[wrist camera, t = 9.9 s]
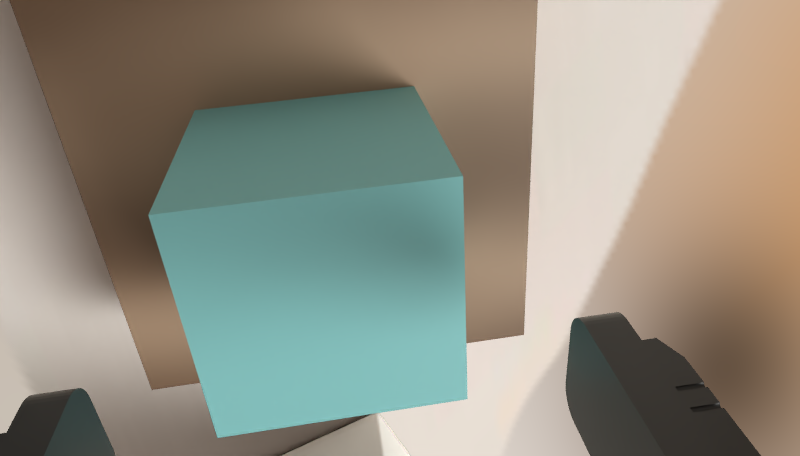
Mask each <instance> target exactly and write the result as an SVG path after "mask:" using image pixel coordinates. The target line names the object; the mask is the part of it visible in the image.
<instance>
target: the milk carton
mask: <svg viewBox="0 0 800 456" xmlns="http://www.w3.org/2000/svg"><path fill="white" fill-rule="evenodd" d="M281 456H410V455H409V453H408V452H407V450H406V449H405V448H404V446H403V445H402V444H401V442H400V441H399V439H398V438H397V437H396V435H395V434H394V433H393V431H392V430H391V428H390V427H389V426H388V424H387V423H386V422H385V420H384V419H383V418H382V416H381V415H380V414H379V413H375V414H371V415H369V416H367V417H365V418H362V419H360V420H358V421H356V422H354V423H351V424H349V425H347V426H345V427H343V428H340V429H338V430H336V431H334V432H332V433H329V434H327V435H325V436H323V437H321V438H318V439H316V440H314V441H312V442H310V443H307V444H305V445H303V446H301V447H299V448H296V449H294V450H292V451H290V452H288V453H286V454H283V455H281Z"/></svg>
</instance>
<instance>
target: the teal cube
mask: <svg viewBox="0 0 800 456" xmlns="http://www.w3.org/2000/svg"><path fill="white" fill-rule="evenodd" d="M148 216H149V219H150V222H151V225H152V229H153V232H154V235H155V238H156V241H157V245H158V248H159V251H160V254H161V258H162V261H163V264H164V267H165V270H166V274H167V277H168V280H169V283H170V287H171V290H172V293H173V296H174V299H175V303H176V306H177V309H178V312H179V316H180V319H181V322H182V325H183V328H184V332H185V335H186V338H187V341H188V345H189V348H190V351H191V354H192V357H193V361H194V364H195V367H196V370H197V374H198V377H199V380H200V383H201V386H202V390H203V393H204V396H205V399H206V403H207V406H208V409H209V412H210V415H211V419H212V422H213V425H214V428H215V432H216V435H217V438H221V437H227V436H234V435H240V434H247V433H253V432H259V431H266V430H272V429H279V428H285V427H291V426H298V425H304V424H311V423H317V422H323V421H330V420H336V419H343V418H349V417H355V416H362V415H368V414H375V413H381V412H387V411H394V410H400V409H407V408H413V407H419V406H426V405H432V404H439V403H445V402H451V401H458V400H464V399H467V356H466V302H465V249H464V195H463V175H462V173H461V171H460V169H459V168H458V166H457V164H456V162H455V160H454V158H453V157H452V155H451V153H450V151H449V149H448V147H447V146H446V144H445V142H444V140H443V138H442V136H441V135H440V133H439V131H438V129H437V127H436V125H435V124H434V122H433V120H432V118H431V116H430V114H429V113H428V111H427V109H426V107H425V105H424V104H423V102H422V100H421V98H420V96H419V94H418V93H417V91H416V89H415V87H414V86H411V87H402V88H393V89H384V90H374V91H365V92H356V93H347V94H338V95H329V96H320V97H311V98H302V99H293V100H284V101H275V102H266V103H257V104H247V105H238V106H229V107H220V108H211V109H202V110H195V111H194V113H193V115H192V118H191V120H190V122H189V124H188V127H187V129H186V131H185V133H184V136H183V138H182V140H181V142H180V145H179V147H178V149H177V151H176V154H175V156H174V158H173V160H172V163H171V165H170V167H169V170H168V172H167V174H166V176H165V179H164V181H163V183H162V185H161V188H160V190H159V192H158V194H157V197H156V199H155V201H154V203H153V206H152V208H151V210H150V212H149V215H148Z"/></svg>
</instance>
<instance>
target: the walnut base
mask: <svg viewBox="0 0 800 456" xmlns="http://www.w3.org/2000/svg"><path fill="white" fill-rule="evenodd" d="M10 3H11V6H12V8H13V11H14V14H15V17H16V19H17V22H18V25H19V28H20V30H21V33H22V36H23V39H24V41H25V44H26V47H27V49H28V52H29V55H30V58H31V60H32V63H33V66H34V69H35V71H36V74H37V77H38V80H39V82H40V85H41V88H42V90H43V93H44V96H45V99H46V101H47V104H48V107H49V110H50V112H51V115H52V118H53V121H54V123H55V126H56V129H57V132H58V134H59V137H60V140H61V142H62V145H63V148H64V151H65V153H66V156H67V159H68V162H69V164H70V167H71V170H72V173H73V175H74V178H75V181H76V184H77V186H78V189H79V192H80V194H81V197H82V200H83V203H84V205H85V208H86V211H87V214H88V216H89V219H90V222H91V225H92V227H93V230H94V233H95V235H96V238H97V241H98V244H99V246H100V249H101V252H102V255H103V257H104V260H105V263H106V266H107V268H108V271H109V274H110V277H111V279H112V282H113V285H114V287H115V290H116V293H117V296H118V298H119V301H120V304H121V307H122V309H123V312H124V315H125V318H126V320H127V323H128V326H129V328H130V331H131V334H132V337H133V339H134V342H135V345H136V348H137V350H138V353H139V356H140V359H141V361H142V364H143V367H144V370H145V372H146V375H147V378H148V380H149V383H150V386H151V389H152V390H153V389H160V388H167V387H174V386H180V385H187V384H194V383H200V380H199V377H198V374H197V370H196V367H195V364H194V361H193V357H192V354H191V351H190V348H189V345H188V341H187V338H186V335H185V332H184V328H183V325H182V322H181V319H180V316H179V312H178V309H177V306H176V303H175V299H174V296H173V293H172V290H171V287H170V283H169V280H168V277H167V274H166V270H165V267H164V264H163V261H162V258H161V254H160V251H159V248H158V245H157V241H156V238H155V235H154V232H153V229H152V225H151V222H150V219H149V216H148V215H149V212H150V210H151V208H152V206H153V203H154V201H155V199H156V197H157V194H158V192H159V190H160V188H161V185H162V183H163V181H164V179H165V176H166V174H167V172H168V170H169V167H170V165H171V163H172V160H173V158H174V156H175V154H176V151H177V149H178V147H179V145H180V142H181V140H182V138H183V136H184V133H185V131H186V129H187V127H188V124H189V122H190V120H191V118H192V115H193V113H194V111H195V110H202V109H211V108H220V107H229V106H238V105H247V104H257V103H266V102H275V101H284V100H293V99H302V98H311V97H320V96H329V95H338V94H347V93H356V92H365V91H374V90H384V89H393V88H402V87H411V86H414V87H415V89H416V91H417V93H418V94H419V96H420V98H421V100H422V102H423V104H424V105H425V107H426V109H427V111H428V113H429V114H430V116H431V118H432V120H433V122H434V124H435V125H436V127H437V129H438V131H439V133H440V135H441V136H442V138H443V140H444V142H445V144H446V146H447V147H448V149H449V151H450V153H451V155H452V157H453V158H454V160H455V162H456V164H457V166H458V168H459V169H460V171H461V173H462V175H463V195H464V249H465V302H466V343H471V342H478V341H485V340H491V339H498V338H505V337H512V336H518V335H524V316H525V292H526V268H527V244H528V220H529V196H530V172H531V148H532V124H533V99H534V75H535V51H536V27H537V3H538V0H10Z"/></svg>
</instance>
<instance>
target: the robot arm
mask: <svg viewBox="0 0 800 456" xmlns="http://www.w3.org/2000/svg"><path fill="white" fill-rule="evenodd" d="M566 395H567V401H568V406H569V410H570V413H571V416H572V418H573V421H574V423H575V425H576V427H577V429H578V431H579V433H580V435H581V437H582V439H583V441H584V443H585V446H586V448H587V450H588V452H589V454H590V456H761V455H760V454H759V453H758V451H757V450H756V449H755V448H754V446H753V445H752V444H751V442H750V441H749V440H748V438H747V437H746V436H745V435H744V433H743V432H742V431H741V429H740V428H739V427H738V426H737V424H736V423H735V422H734V421H733V419H732V418H731V417H730V415H729V414H728V413H727V411H726V410H725V409H724V408H721V407H720V402H719V401H718V400H717V399H716V397H715V396H714V395H713V393H712V392H711V391H710V390H709V388H708V387H705V386H704V382H703V380H702V379H701V378H700V377H699V375H698V374H697V373H696V371H695V370H694V369H693V368H692V366H691V365H690V364H689V362H688V361H687V360H686V359H685V357H683V356H682V355H680V354H679V353H677V352H676V351H674V350H673V349H672V348H670V347H668V346H667V345H666V344H664V343H663V342H661V341H660V340H658V339H657V338H654V339H647V340H641V339H640V337H639V336H638V335H637V333H636V332H635V330H634V329H633V328H632V326H631V325H630V323H629V322H628V320H627V319H626V318H625V317H624V316H623V315H622V314H621V313H618V312H616V313H609V314H602V315H595V316H588V317H581V318H575V319H574V320H573V322H572V325H571V333H570V344H569V354H568V365H567V375H566ZM0 456H115V453H114V450H113V448H112V446H111V443H110V441H109V439H108V437H107V435H106V432H105V430H104V428H103V426H102V424H101V421H100V419H99V417H98V415H97V413H96V410H95V408H94V406H93V404H92V401H91V399H90V397H89V395H88V394H87V392H86V391H85V390H83V389H81V388H78V389H71V390H64V391H57V392H50V393H43V394H36V395H31V396H29V397H27V398H26V399H25V400H24V401H23V403H22V404H21V406H20V408H19V410H18V412H17V414H16V416H15V418H14V420H13V421H12V423H11V425H10V427H9V429H8V431H7V433H2V434H0Z"/></svg>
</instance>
